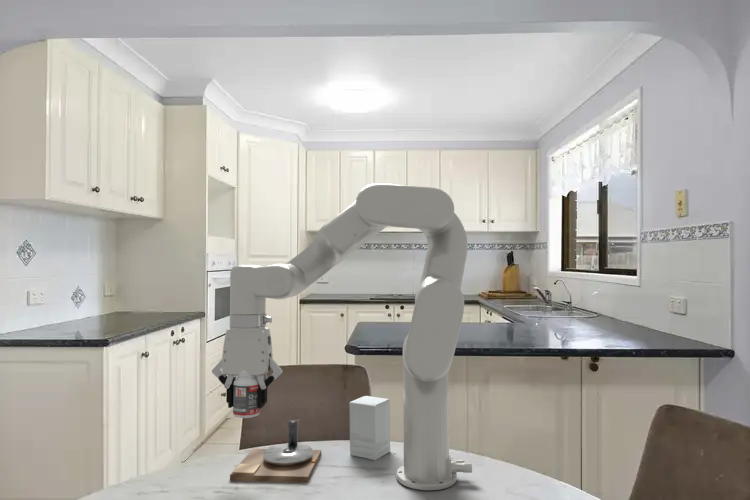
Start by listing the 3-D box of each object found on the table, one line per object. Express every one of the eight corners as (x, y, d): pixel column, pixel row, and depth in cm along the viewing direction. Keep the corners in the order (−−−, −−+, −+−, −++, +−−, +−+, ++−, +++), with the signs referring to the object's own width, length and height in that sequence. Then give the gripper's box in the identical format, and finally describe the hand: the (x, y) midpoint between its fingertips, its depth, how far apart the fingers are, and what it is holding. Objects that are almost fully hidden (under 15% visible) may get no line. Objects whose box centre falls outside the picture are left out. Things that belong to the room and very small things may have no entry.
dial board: (321, 455, 119) (321, 448, 120) (307, 482, 104) (307, 474, 104) (253, 453, 121) (253, 446, 121) (229, 480, 105) (229, 472, 105)
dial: (316, 447, 119) (316, 420, 120) (307, 466, 108) (307, 435, 108) (271, 446, 120) (271, 419, 120) (256, 465, 109) (257, 435, 109)
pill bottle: (253, 419, 105) (253, 371, 105) (228, 418, 106) (228, 370, 106) (264, 412, 110) (265, 366, 111) (240, 410, 112) (241, 365, 112)
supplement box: (391, 451, 122) (390, 398, 122) (374, 461, 116) (374, 405, 116) (365, 445, 126) (365, 394, 126) (348, 455, 119) (348, 401, 120)
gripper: (290, 320, 112) (290, 402, 111) (215, 320, 113) (214, 401, 113) (282, 324, 105) (281, 412, 104) (201, 323, 106) (200, 410, 105)
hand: (246, 405), depth 108 cm, fingers closed on pill bottle, 5 cm apart
